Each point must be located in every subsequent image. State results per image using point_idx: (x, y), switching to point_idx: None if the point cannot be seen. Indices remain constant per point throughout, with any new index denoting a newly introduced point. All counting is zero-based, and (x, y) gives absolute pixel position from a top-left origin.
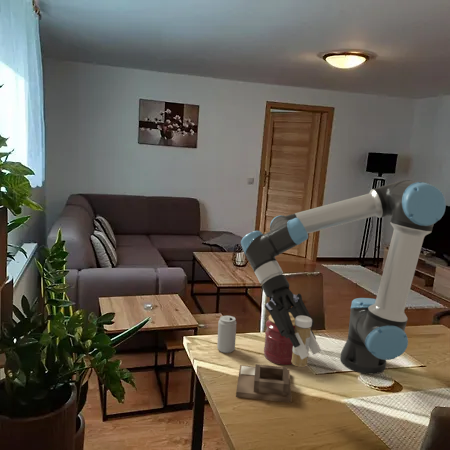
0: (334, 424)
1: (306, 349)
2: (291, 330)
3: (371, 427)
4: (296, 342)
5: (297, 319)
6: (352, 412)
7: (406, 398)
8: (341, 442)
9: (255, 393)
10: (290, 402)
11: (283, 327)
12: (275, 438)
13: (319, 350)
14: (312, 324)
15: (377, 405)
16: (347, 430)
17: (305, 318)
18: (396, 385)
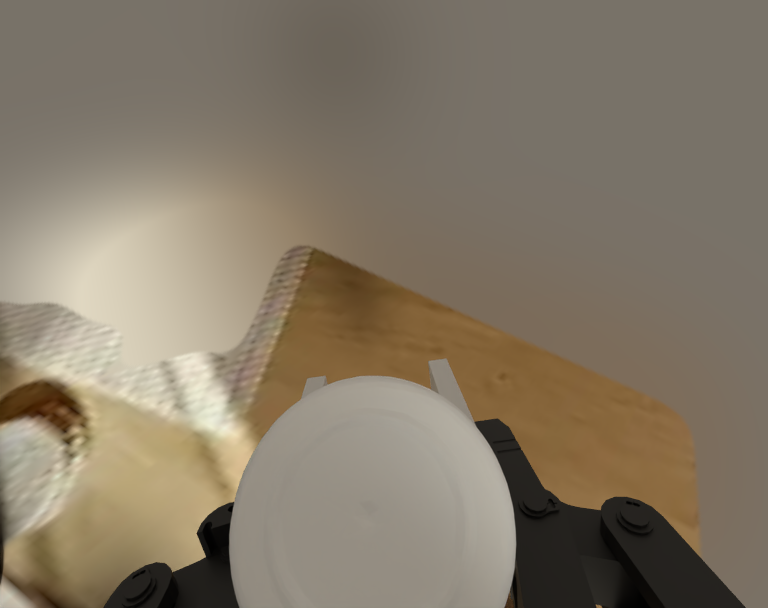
0: (360, 354)
1: (437, 380)
2: (563, 520)
3: (284, 302)
4: (505, 436)
5: (512, 533)
6: (268, 370)
7: (73, 344)
8: (400, 296)
9: None
10: None
11: (715, 588)
12: (559, 385)
13: (324, 377)
14: (198, 529)
15: (175, 360)
16: (349, 321)
17: (348, 494)
18: (11, 407)
